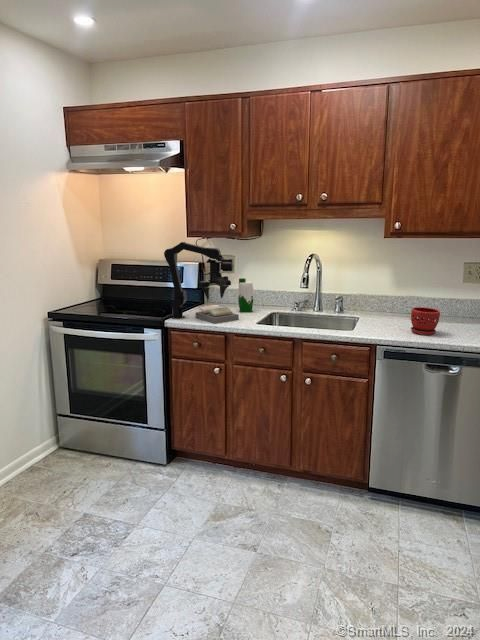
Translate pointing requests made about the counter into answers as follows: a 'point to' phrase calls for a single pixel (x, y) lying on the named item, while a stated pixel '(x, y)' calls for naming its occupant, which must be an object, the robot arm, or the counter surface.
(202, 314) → the rocker switch panel
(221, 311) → the green rocker
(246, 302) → the milk carton
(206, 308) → the plate
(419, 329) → the plant pot
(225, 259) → the robot arm
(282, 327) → the counter surface
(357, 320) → the counter surface
